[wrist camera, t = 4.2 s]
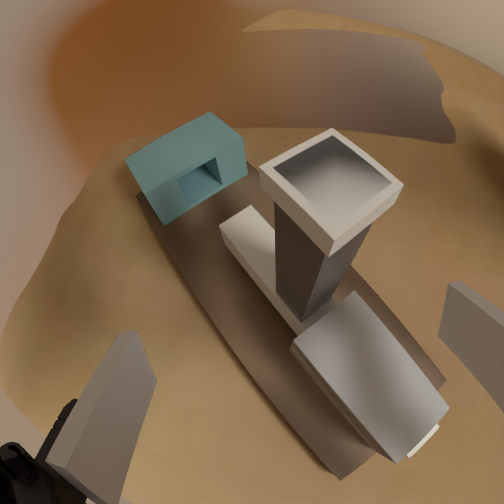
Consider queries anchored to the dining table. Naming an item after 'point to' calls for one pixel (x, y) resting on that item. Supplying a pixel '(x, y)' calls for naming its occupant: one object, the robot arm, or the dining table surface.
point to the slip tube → (311, 226)
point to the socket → (188, 165)
